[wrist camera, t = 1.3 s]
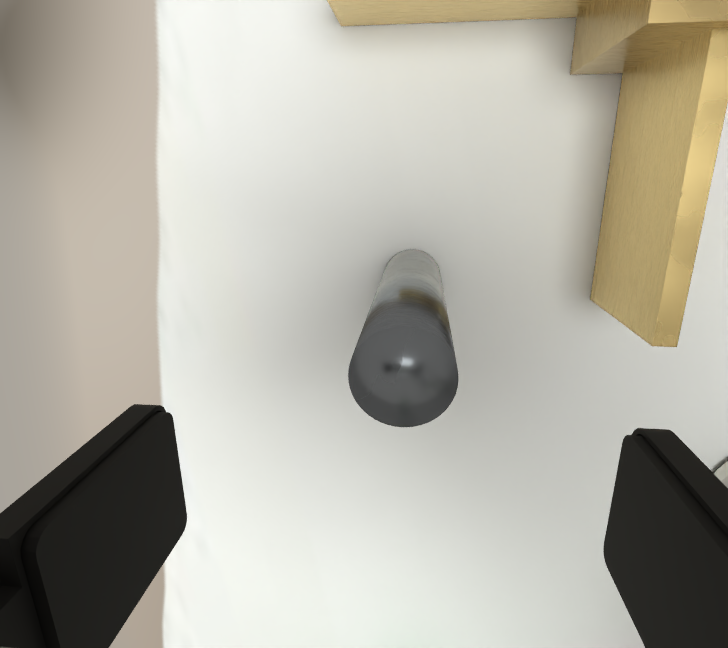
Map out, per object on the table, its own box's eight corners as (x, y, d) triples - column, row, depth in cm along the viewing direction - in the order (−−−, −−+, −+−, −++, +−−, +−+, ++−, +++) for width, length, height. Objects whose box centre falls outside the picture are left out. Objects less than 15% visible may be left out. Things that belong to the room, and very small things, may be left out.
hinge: (725, -77, 22) (913, -231, 14) (654, 300, 28) (757, 357, 19) (340, -55, 24) (295, -178, 16) (345, 293, 30) (315, 341, 21)
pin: (441, 249, 28) (461, 328, 14) (439, 305, 29) (455, 430, 15) (384, 249, 29) (347, 324, 14) (383, 303, 30) (348, 424, 16)
